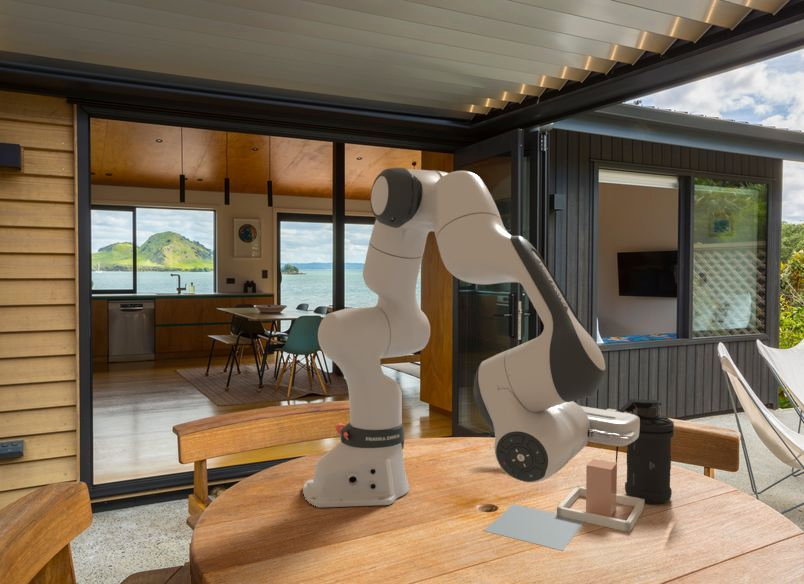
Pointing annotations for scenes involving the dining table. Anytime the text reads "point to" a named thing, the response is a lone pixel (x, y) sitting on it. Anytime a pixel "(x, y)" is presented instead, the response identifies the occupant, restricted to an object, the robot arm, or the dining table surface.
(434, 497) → the dining table surface
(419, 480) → the dining table surface
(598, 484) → the tall salmon pillar
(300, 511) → the dining table surface
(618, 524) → the box
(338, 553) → the dining table surface
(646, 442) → the grenade
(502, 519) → the plate
